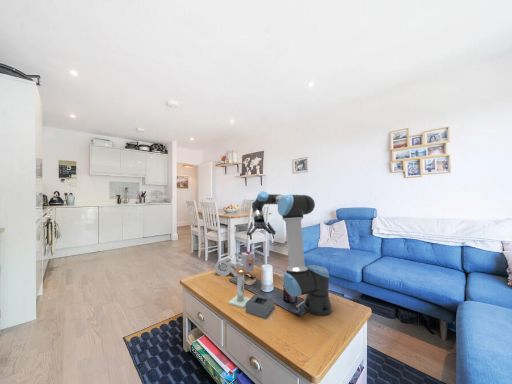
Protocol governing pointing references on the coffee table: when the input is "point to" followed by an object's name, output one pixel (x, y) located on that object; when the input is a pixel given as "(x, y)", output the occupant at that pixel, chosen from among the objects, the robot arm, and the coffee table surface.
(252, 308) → the eye block
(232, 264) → the sculpture
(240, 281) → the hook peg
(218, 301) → the coffee table surface
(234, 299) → the pad
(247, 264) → the toy
